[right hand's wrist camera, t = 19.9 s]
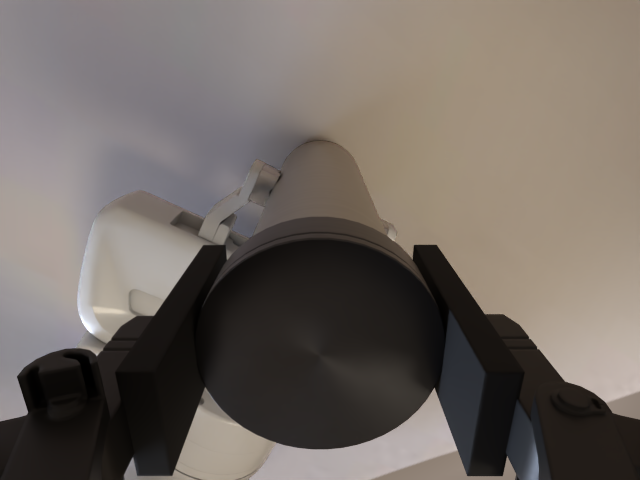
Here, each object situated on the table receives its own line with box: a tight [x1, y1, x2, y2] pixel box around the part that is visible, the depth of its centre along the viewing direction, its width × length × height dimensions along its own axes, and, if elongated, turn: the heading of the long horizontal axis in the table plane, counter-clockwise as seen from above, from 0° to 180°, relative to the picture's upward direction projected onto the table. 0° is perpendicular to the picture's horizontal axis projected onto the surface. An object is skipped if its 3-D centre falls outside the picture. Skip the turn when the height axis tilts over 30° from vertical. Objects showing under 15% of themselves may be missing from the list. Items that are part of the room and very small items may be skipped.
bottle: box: [253, 141, 387, 236], centre depth 20 cm, size 6×6×18 cm
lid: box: [194, 217, 445, 449], centre depth 11 cm, size 6×6×2 cm
